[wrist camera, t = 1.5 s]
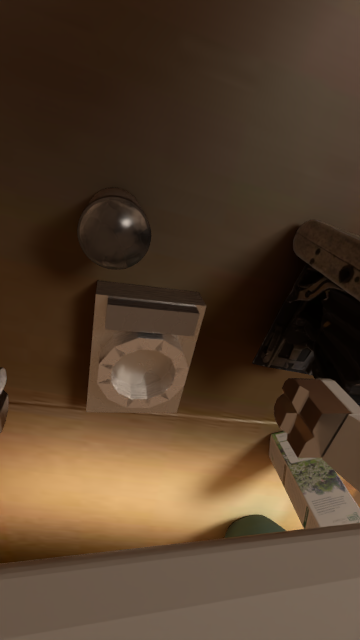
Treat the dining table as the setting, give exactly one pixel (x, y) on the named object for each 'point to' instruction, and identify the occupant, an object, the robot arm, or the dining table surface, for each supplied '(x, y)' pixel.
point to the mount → (141, 347)
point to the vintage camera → (320, 311)
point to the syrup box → (312, 487)
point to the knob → (114, 229)
